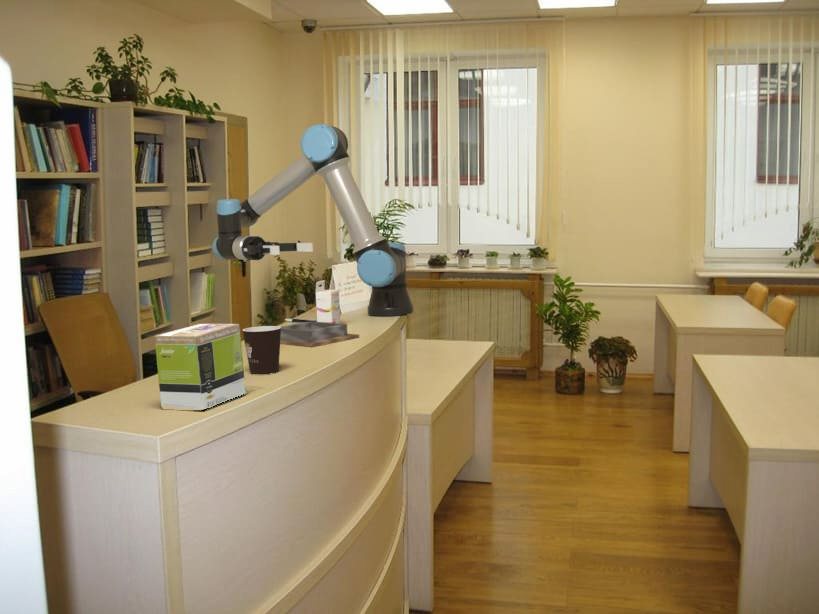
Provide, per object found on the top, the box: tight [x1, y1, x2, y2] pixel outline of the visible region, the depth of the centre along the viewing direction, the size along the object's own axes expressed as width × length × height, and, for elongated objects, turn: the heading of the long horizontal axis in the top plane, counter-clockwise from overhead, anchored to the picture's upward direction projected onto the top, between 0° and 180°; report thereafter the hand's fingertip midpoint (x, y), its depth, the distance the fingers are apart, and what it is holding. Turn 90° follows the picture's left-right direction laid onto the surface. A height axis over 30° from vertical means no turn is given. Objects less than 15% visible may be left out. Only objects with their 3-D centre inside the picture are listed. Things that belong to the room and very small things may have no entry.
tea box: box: [154, 323, 247, 409], centre depth 181 cm, size 15×10×15 cm, turn 157°
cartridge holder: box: [280, 320, 360, 348], centre depth 257 cm, size 18×20×4 cm
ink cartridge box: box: [315, 279, 341, 324], centre depth 275 cm, size 9×5×15 cm, turn 168°
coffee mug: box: [242, 325, 282, 375], centre depth 212 cm, size 12×9×10 cm
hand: (295, 248), depth 281 cm, fingers open, 13 cm apart
